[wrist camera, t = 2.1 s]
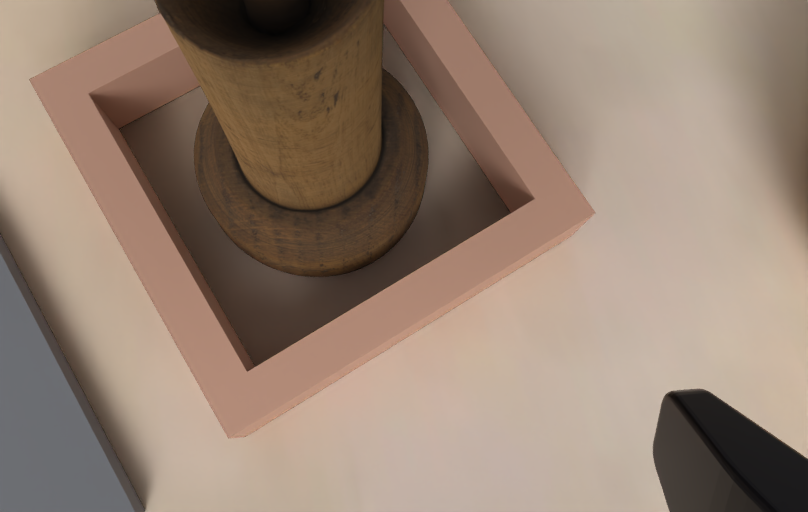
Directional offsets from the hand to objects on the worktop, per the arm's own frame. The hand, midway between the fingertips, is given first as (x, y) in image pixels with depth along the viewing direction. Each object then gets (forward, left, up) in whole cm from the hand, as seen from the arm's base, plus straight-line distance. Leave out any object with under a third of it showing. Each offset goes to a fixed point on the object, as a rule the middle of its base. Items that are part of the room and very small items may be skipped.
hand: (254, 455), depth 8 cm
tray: (+7, -4, -13) cm, 16 cm away
